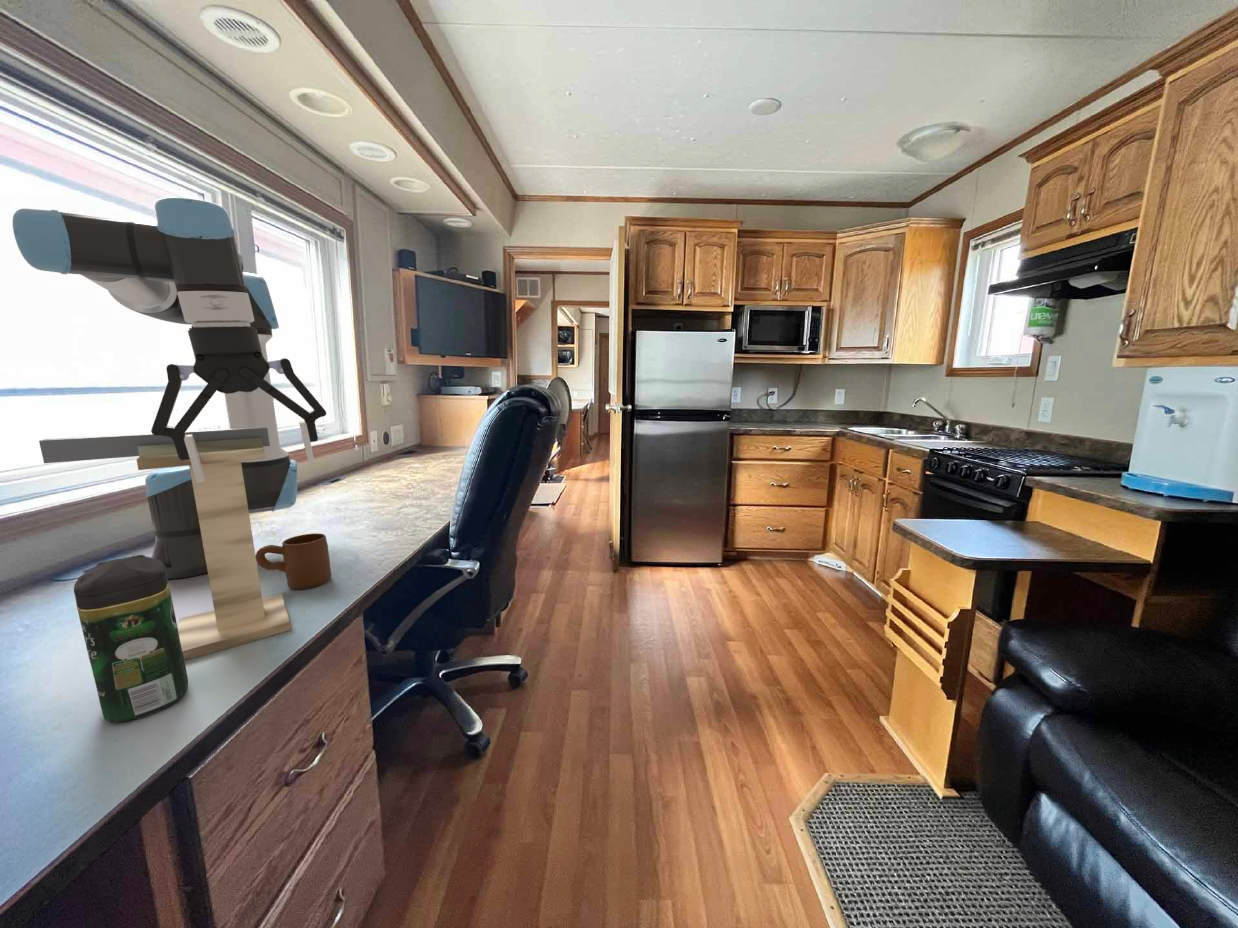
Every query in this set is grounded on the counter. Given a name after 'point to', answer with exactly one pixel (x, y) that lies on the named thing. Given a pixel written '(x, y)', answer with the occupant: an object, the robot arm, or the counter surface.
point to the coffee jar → (131, 637)
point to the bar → (132, 443)
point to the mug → (300, 560)
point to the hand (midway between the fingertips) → (259, 470)
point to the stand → (224, 548)
